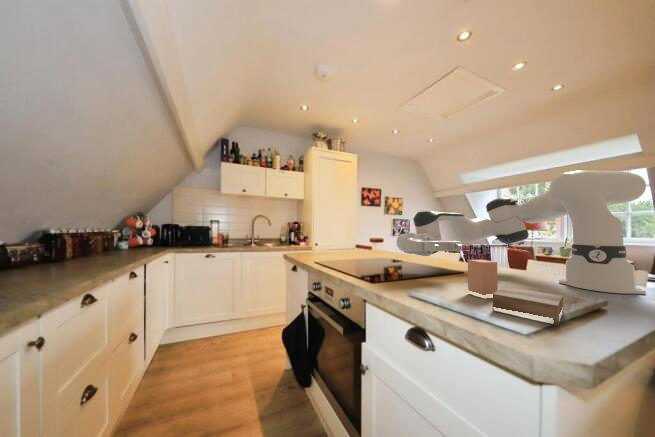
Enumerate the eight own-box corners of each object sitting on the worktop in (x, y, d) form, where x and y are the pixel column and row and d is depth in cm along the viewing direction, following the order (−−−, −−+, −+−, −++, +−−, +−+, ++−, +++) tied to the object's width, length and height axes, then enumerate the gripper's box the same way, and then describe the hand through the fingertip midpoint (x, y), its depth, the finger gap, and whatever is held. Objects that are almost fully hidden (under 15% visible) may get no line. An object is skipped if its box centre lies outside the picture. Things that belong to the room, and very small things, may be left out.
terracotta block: (468, 294, 70) (467, 259, 70) (482, 293, 71) (481, 259, 71) (483, 299, 65) (482, 262, 65) (497, 298, 66) (497, 261, 67)
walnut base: (504, 301, 63) (504, 286, 63) (563, 313, 55) (562, 295, 55) (492, 311, 56) (492, 293, 56) (558, 326, 47) (557, 305, 48)
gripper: (446, 252, 96) (474, 256, 83) (400, 252, 92) (422, 257, 78) (446, 236, 96) (474, 238, 83) (400, 236, 92) (422, 237, 78)
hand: (448, 247), depth 80 cm, fingers open, 8 cm apart
